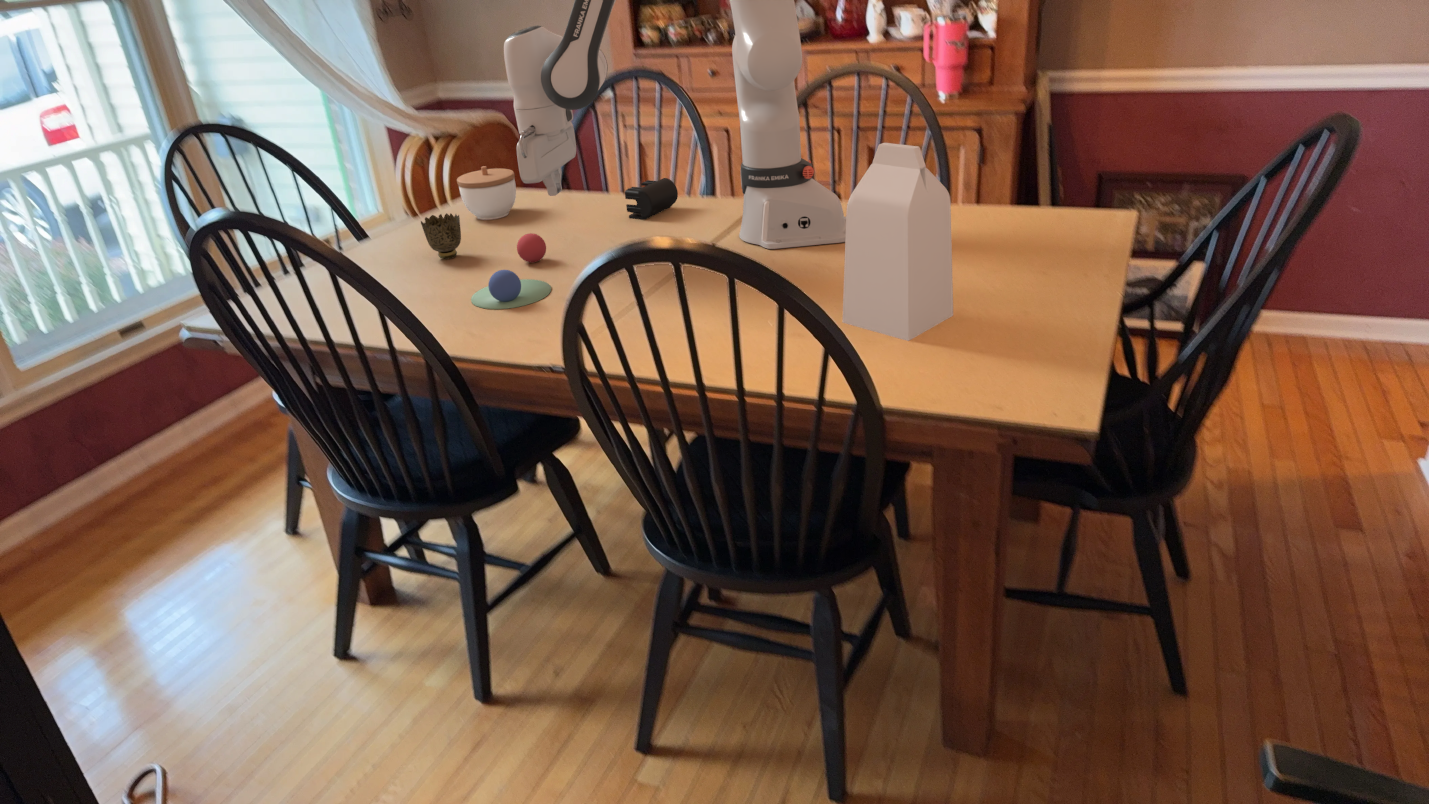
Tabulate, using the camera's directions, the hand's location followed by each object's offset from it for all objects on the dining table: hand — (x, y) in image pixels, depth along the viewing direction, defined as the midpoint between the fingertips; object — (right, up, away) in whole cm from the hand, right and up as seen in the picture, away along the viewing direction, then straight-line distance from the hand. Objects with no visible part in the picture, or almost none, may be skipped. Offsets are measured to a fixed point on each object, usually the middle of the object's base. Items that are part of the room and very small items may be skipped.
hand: (555, 193), depth 183 cm
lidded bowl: (-20, +2, +33) cm, 38 cm away
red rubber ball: (-4, -11, -1) cm, 12 cm away
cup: (-23, -11, +7) cm, 26 cm away
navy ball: (-5, -20, -20) cm, 29 cm away
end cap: (+17, 0, +23) cm, 29 cm away
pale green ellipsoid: (-5, -21, -16) cm, 27 cm away
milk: (+58, -28, -39) cm, 76 cm away
